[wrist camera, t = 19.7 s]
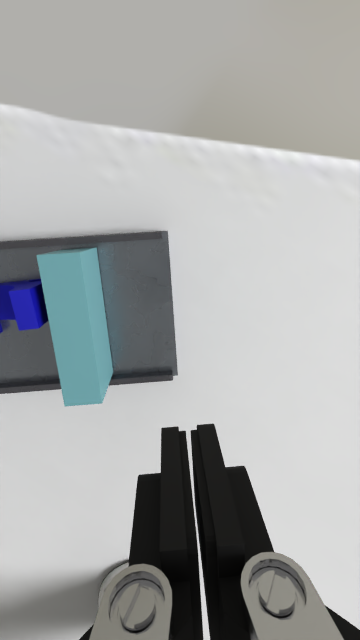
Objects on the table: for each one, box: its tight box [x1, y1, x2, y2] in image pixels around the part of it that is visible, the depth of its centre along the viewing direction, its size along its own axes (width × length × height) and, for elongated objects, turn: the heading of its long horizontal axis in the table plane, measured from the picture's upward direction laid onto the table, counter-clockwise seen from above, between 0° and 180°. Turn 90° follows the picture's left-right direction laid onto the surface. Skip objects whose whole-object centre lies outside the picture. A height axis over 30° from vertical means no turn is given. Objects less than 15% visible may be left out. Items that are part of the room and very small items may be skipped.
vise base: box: [0, 231, 178, 394], centre depth 27 cm, size 14×27×8 cm, turn 94°
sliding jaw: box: [37, 247, 113, 406], centre depth 27 cm, size 12×3×6 cm, turn 4°
